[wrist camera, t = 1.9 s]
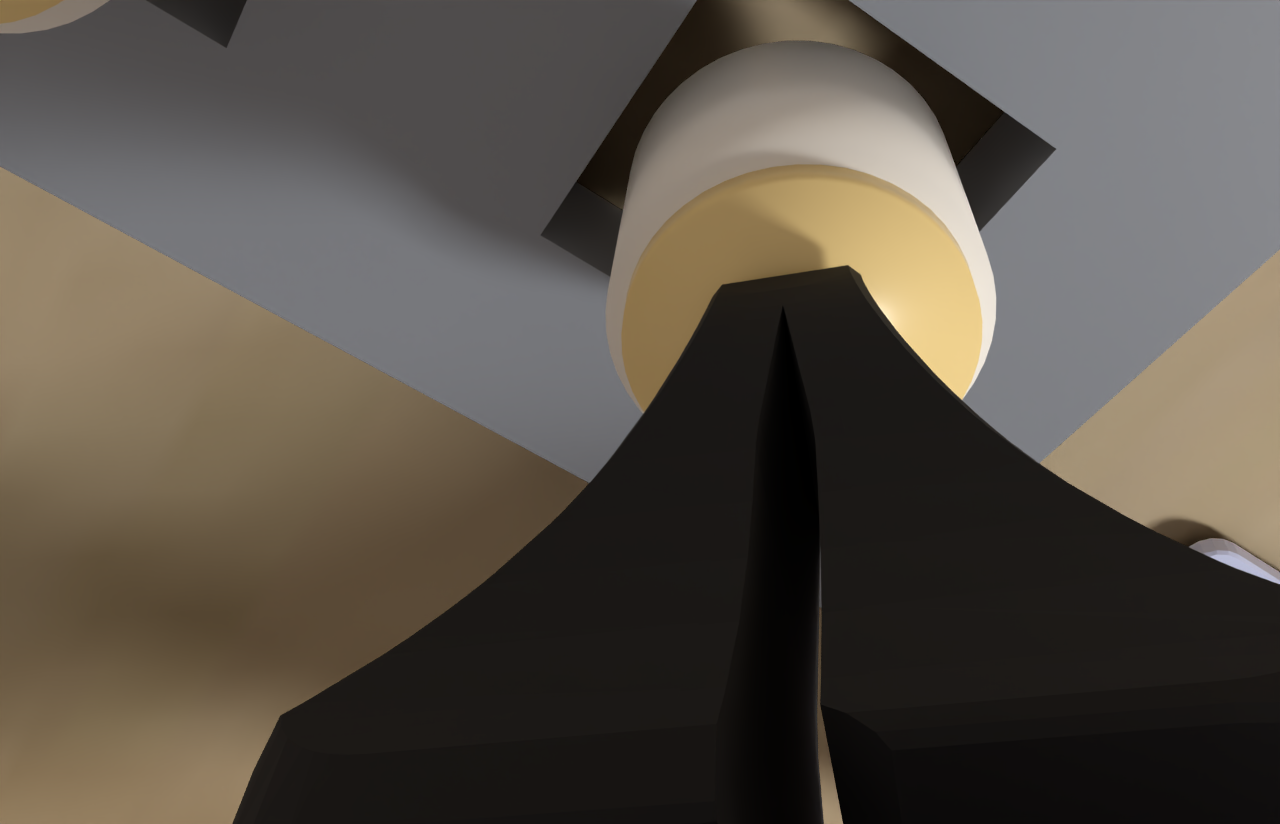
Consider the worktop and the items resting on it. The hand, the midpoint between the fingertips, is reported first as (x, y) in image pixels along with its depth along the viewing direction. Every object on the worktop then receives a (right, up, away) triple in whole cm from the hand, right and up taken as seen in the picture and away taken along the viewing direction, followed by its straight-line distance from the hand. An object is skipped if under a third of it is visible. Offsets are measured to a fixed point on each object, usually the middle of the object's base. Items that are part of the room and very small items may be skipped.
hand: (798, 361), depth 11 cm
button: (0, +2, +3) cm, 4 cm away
